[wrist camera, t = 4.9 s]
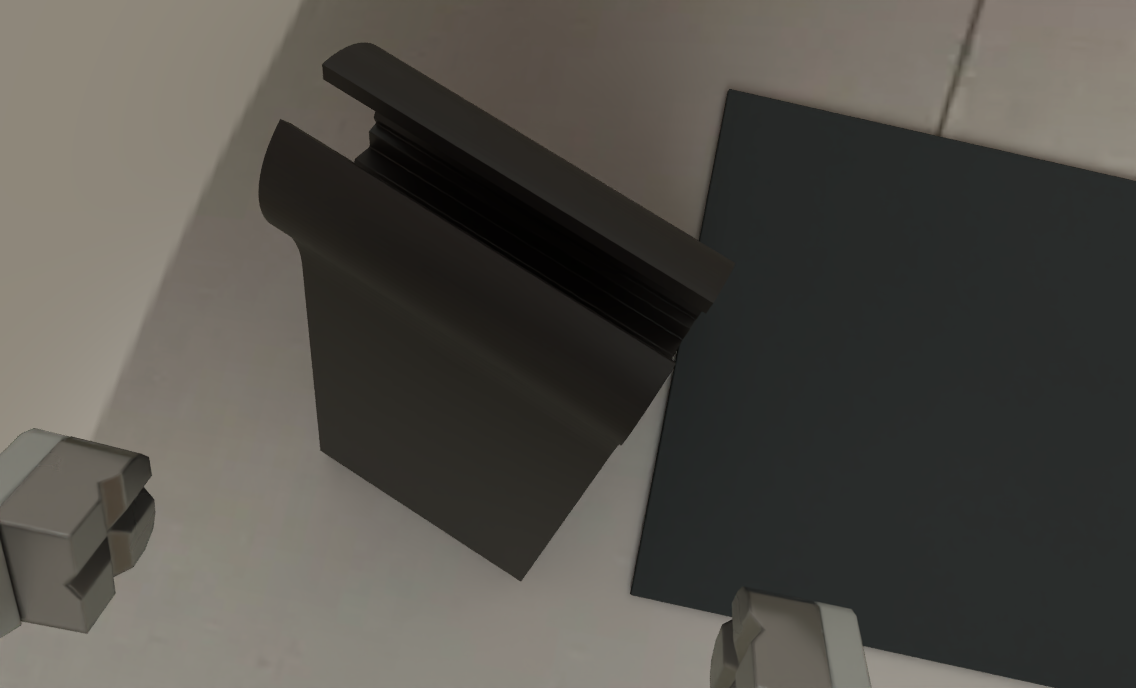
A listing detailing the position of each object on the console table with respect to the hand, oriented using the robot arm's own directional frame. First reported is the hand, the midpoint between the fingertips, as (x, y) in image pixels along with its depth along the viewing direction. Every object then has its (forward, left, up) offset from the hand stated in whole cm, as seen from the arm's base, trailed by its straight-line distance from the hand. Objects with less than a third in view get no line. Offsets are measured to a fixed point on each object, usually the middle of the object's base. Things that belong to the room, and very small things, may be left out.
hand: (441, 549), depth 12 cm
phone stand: (0, +4, -10) cm, 11 cm away
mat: (+11, +6, -10) cm, 16 cm away
